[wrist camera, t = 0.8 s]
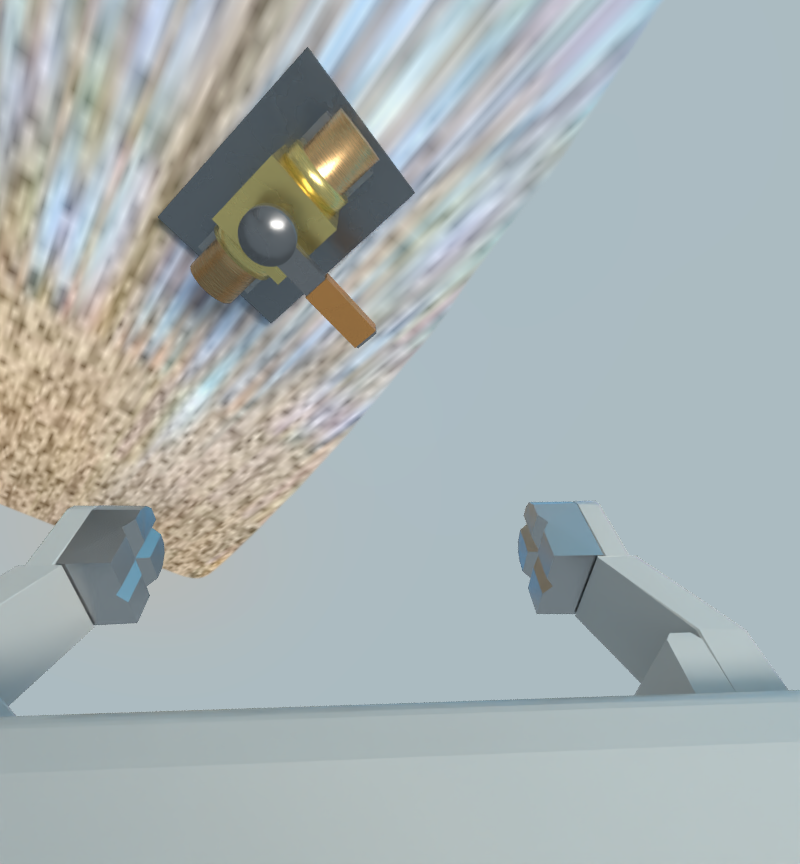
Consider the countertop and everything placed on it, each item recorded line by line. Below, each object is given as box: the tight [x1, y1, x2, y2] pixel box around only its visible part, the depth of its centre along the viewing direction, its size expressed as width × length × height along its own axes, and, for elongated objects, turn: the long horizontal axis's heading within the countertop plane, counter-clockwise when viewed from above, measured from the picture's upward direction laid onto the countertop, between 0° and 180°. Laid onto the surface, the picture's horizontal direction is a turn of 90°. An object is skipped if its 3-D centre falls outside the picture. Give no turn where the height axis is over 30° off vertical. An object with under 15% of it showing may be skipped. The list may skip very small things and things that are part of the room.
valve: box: [158, 47, 415, 323], centre depth 36 cm, size 12×17×10 cm
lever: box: [238, 203, 376, 348], centre depth 33 cm, size 11×4×1 cm, turn 40°
